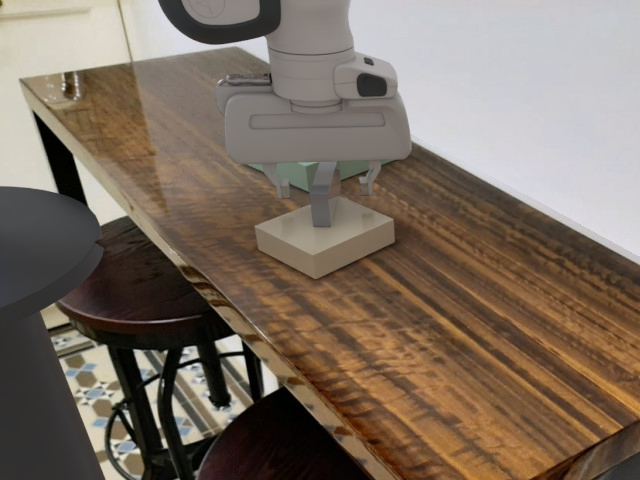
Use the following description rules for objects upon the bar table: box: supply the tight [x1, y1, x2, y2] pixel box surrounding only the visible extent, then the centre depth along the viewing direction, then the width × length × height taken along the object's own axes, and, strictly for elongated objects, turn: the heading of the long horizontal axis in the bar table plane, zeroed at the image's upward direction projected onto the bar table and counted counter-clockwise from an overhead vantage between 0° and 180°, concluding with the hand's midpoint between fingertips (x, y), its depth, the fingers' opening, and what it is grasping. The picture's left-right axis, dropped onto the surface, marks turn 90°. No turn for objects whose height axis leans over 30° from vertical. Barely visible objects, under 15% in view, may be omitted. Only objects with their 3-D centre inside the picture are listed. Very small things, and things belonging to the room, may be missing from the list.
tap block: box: [253, 195, 396, 280], centre depth 85 cm, size 12×10×3 cm
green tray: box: [245, 160, 395, 193], centre depth 106 cm, size 18×14×4 cm
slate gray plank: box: [308, 161, 342, 227], centre depth 86 cm, size 11×2×4 cm, turn 3°
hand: (326, 195), depth 87 cm, fingers open, 8 cm apart
